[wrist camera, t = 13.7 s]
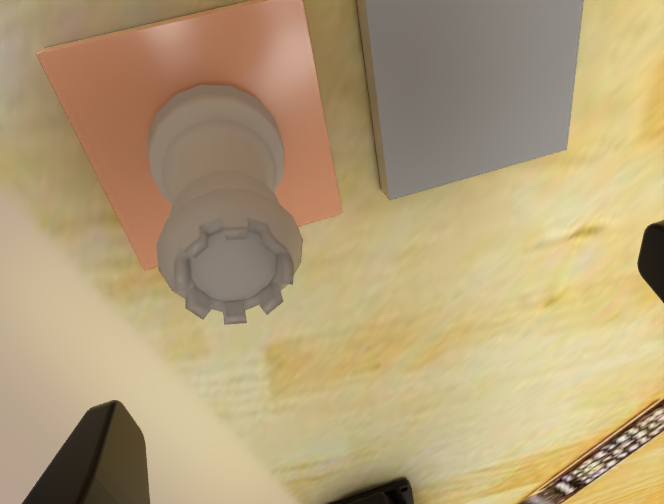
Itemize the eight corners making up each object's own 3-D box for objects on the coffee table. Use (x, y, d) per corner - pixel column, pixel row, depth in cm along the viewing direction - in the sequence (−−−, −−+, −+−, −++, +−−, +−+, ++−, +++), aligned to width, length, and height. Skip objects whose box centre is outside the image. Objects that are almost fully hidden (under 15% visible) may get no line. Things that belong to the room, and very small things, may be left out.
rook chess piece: (294, 98, 17) (364, 201, 10) (265, 213, 19) (307, 361, 12) (157, 64, 15) (133, 160, 8) (140, 194, 17) (112, 351, 10)
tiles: (552, 141, 21) (566, 149, 21) (145, 256, 19) (144, 270, 19) (572, -74, 17) (592, -75, 16) (44, 47, 15) (36, 54, 14)
